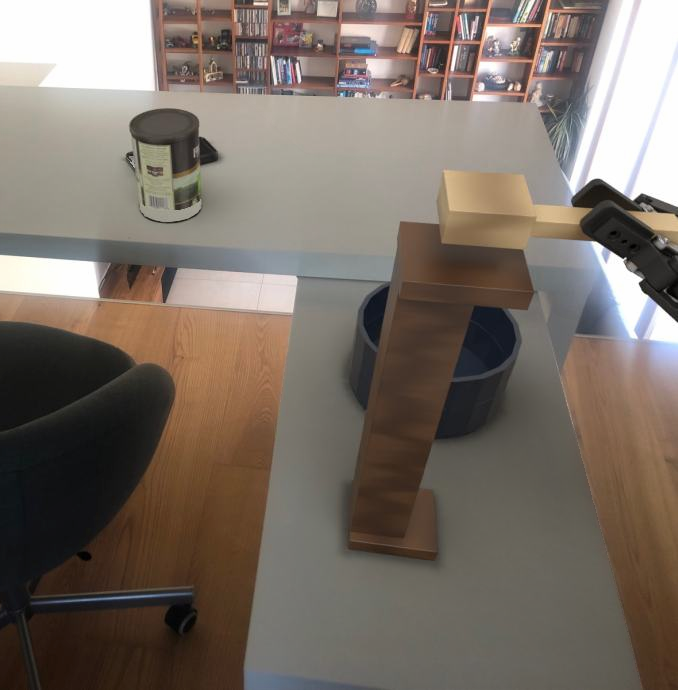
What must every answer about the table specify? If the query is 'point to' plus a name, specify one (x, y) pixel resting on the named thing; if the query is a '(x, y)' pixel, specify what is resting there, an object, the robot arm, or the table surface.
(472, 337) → the pot
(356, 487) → the stand
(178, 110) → the coffee can
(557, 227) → the t-shaped wooden block
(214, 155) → the phone
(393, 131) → the table surface
